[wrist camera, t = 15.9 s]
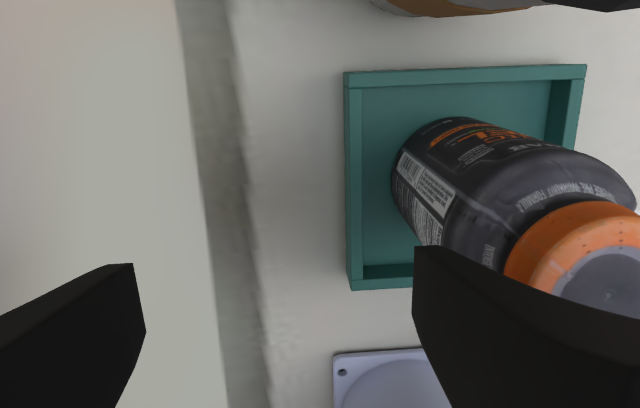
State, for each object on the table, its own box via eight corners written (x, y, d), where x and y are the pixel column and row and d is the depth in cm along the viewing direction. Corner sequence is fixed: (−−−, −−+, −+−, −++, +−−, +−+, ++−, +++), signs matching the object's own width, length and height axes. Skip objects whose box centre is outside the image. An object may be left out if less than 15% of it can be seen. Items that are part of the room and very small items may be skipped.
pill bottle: (521, 121, 20) (780, 190, 10) (492, 236, 22) (682, 403, 11) (398, 108, 20) (526, 167, 9) (379, 228, 22) (466, 395, 11)
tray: (533, 261, 23) (553, 278, 21) (346, 273, 23) (351, 291, 21) (561, 63, 20) (587, 64, 18) (343, 72, 19) (348, 73, 18)
